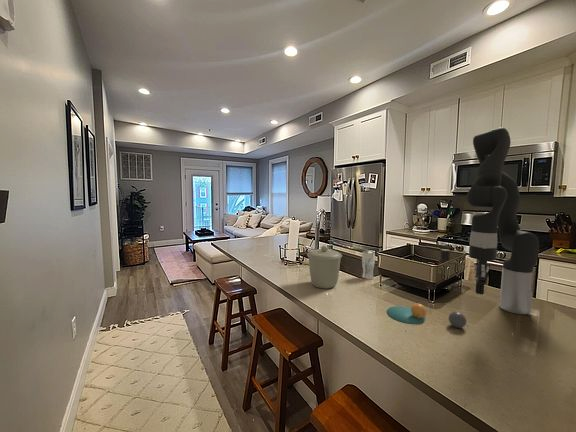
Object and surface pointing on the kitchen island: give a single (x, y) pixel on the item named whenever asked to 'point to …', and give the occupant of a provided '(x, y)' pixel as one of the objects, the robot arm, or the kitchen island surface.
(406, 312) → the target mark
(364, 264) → the beer glass
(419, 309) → the object ball
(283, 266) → the kitchen island surface
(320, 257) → the canister
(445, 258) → the sauce bottle
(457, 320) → the blue-grey ball
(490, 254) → the robot arm
